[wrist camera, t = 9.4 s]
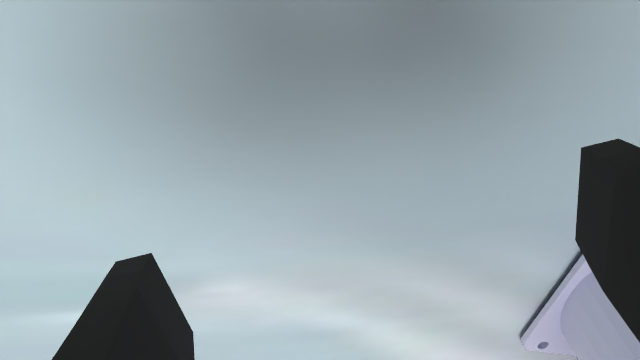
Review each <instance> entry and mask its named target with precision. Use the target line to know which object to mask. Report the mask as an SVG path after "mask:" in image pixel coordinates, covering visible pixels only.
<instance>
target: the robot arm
mask: <svg viewBox="0 0 640 360" xmlns="http://www.w3.org/2000/svg"><path fill="white" fill-rule="evenodd" d="M575 240H576V242H577V244H578V246H579V248H580V250H581V252H582V256H581V257H580V258H579V260H578V261H577V262H576V264H575V265H574V267H573V268H572V269H571V271H570V272H569V273H568V275H567V276H566V277H565V279H564V280H563V282H562V283H561V284H560V286H559V287H558V288H557V290H556V291H555V292H554V294H553V295H552V297H551V298H550V299H549V301H548V302H547V303H546V305H545V306H544V307H543V309H542V310H541V312H540V313H539V314H538V316H537V317H536V318H535V320H534V321H533V322H532V324H531V325H530V327H529V328H528V329H527V331H526V332H525V333H524V335H523V336H522V338H521V343H522V345H523V347H524V348H525V349H526V350H530V351H538V352H546V353H554V354H562V355H570V356H576V358H577V359H578V360H640V148H639V147H637V146H635V145H632V144H630V143H628V142H625V141H623V140H620V139H615V140H611V141H607V142H603V143H599V144H595V145H591V146H587V147H583V148H581V160H580V176H579V191H578V207H577V222H576V238H575ZM52 360H194V342H193V331H192V329H191V327H190V326H189V324H188V322H187V320H186V318H185V316H184V314H183V312H182V310H181V308H180V306H179V305H178V303H177V301H176V299H175V297H174V295H173V293H172V291H171V289H170V287H169V286H168V284H167V282H166V280H165V278H164V276H163V274H162V272H161V270H160V268H159V266H158V265H157V263H156V261H155V259H154V257H153V255H152V253H150V254H146V255H141V256H137V257H133V258H129V259H125V260H121V261H117V262H115V264H114V265H113V267H112V268H111V270H110V271H109V273H108V274H107V276H106V277H105V279H104V280H103V282H102V283H101V285H100V287H99V288H98V290H97V291H96V293H95V294H94V296H93V297H92V299H91V301H90V302H89V304H88V305H87V307H86V308H85V310H84V312H83V313H82V315H81V316H80V318H79V319H78V321H77V322H76V324H75V326H74V327H73V329H72V330H71V332H70V333H69V335H68V336H67V338H66V339H65V341H64V342H63V344H62V345H61V347H60V348H59V350H58V351H57V353H56V354H55V356H54V357H53V359H52Z"/></svg>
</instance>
